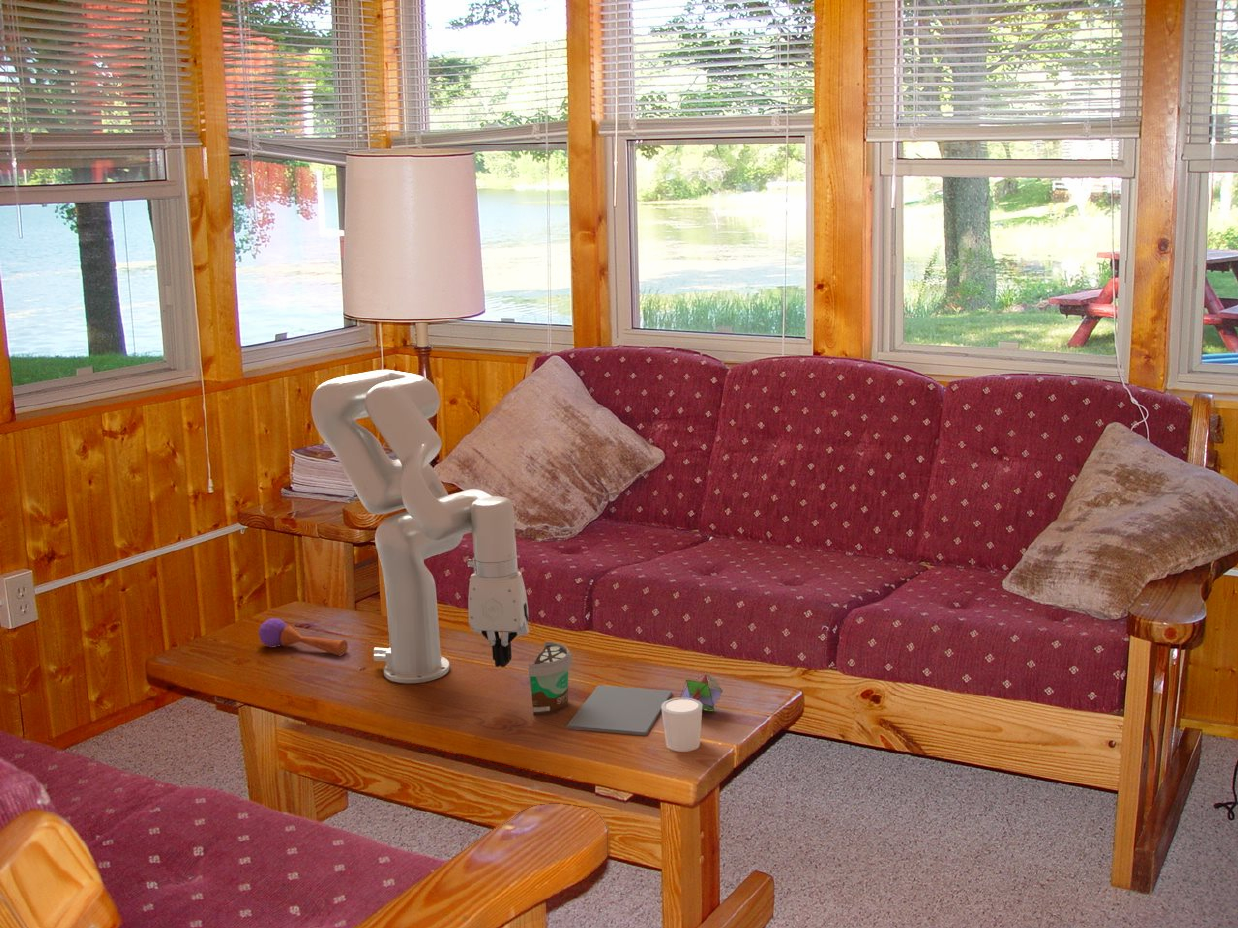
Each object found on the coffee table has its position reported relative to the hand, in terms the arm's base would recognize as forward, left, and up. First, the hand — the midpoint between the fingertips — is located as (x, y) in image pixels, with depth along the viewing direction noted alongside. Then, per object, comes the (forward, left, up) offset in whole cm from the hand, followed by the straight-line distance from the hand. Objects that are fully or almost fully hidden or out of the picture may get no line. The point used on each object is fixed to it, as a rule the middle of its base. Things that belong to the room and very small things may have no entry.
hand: (502, 663), depth 239 cm
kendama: (-51, +17, -8) cm, 54 cm away
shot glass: (+36, -11, -7) cm, 38 cm away
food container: (+10, 0, -8) cm, 12 cm away
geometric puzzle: (+36, +2, -8) cm, 37 cm away
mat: (+22, 0, -7) cm, 23 cm away
